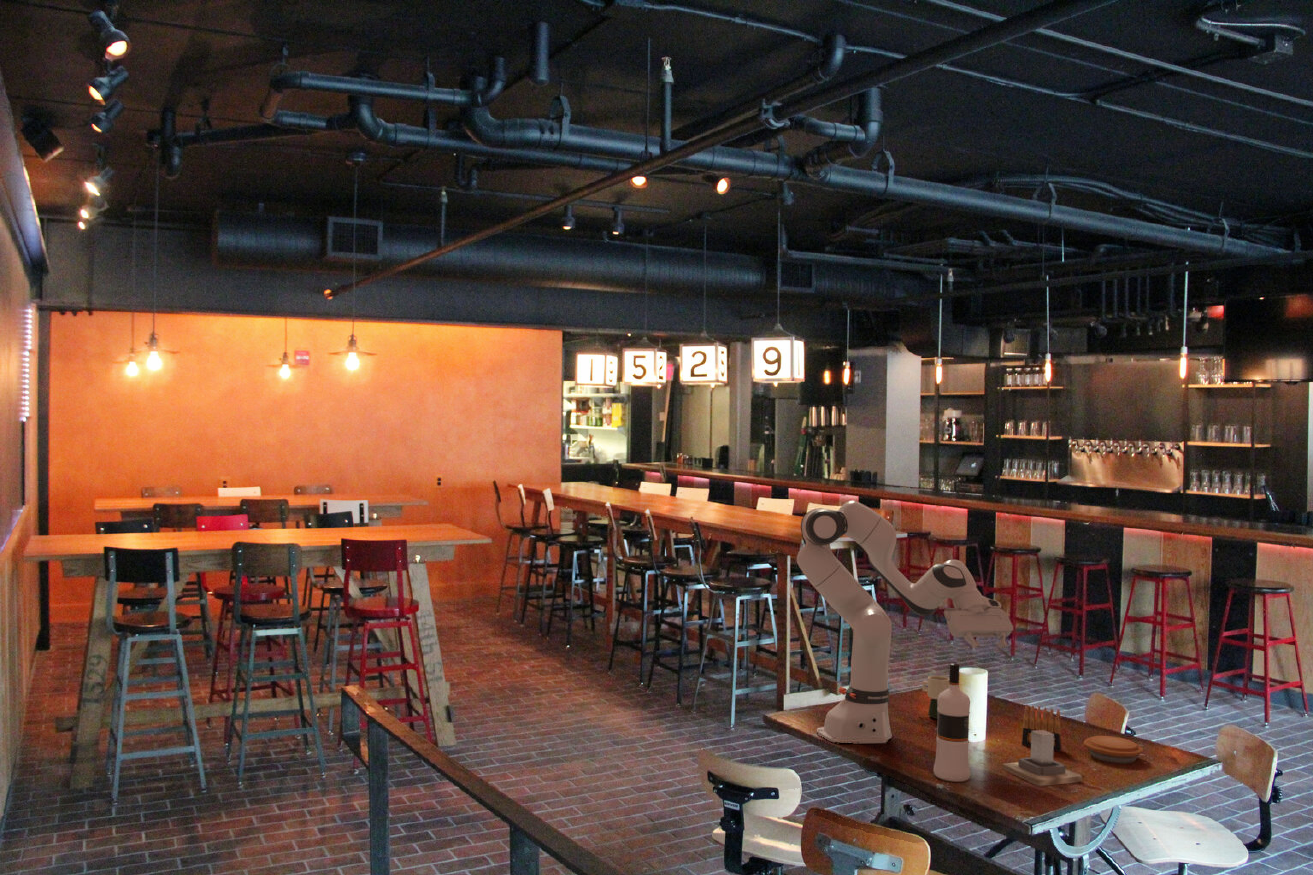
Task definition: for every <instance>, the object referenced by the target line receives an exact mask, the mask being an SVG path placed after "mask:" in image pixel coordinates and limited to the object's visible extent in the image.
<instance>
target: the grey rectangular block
mask: <svg viewBox="0 0 1313 875" xmlns="http://www.w3.org/2000/svg"><path fill="white" fill-rule="evenodd" d="M1054 739H1055V738H1054V734H1053V733H1050V732H1048V731H1045V730H1035V731H1031V747H1030V757H1031V759H1030V763H1033V764H1035V765H1037V766H1039V767H1046V766H1053V760H1054V751H1053V748H1054Z"/></svg>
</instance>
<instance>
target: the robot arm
mask: <svg viewBox="0 0 1313 875" xmlns="http://www.w3.org/2000/svg"><path fill="white" fill-rule="evenodd" d="M800 532H801V536H802V540H803V544H804V546H802V548H801V549H800V550H799V551H798V553H797V555H796V563H797V565H798V568H800V570H801V572H802V573H803V575H804V576H805V578H806V579H807V580H808V582H809V583H810V584H811V585H812V586H813V588H814V589H815V590H816V591H817V592H818V593H819V594H820V596H821V597H822V598H823V599H824V600H825V601H826V602H827V604H828V605H829V606H830V607H831V608H832V609H833V611H835V613H838V615H839V616H840V617H841V618H842V619H843V620H844V621H845V622H846V623H847V624H848V626H849V627H850V628H851V629H852V632H853V636H852V638H853V639H852V647H851V648H852V650H851V659H850V684H849V686H848V687H847V688H845V687H844V686H840V687H839V688H838V690H837V691H838V693H839V694H841V695H842V696H843V695H844V699H842V700H841V701H840V702H839V703H838V704H837V705H835V706H833V707H832V709H830V710H829V711H828V712H827V713H826V715H825V720H824V725H823V726H822V727H817V728H816V734H817V733H818V734H817V735H818V736H820V737H821V736H822V737H821V738H823V737H824V738H825V740H826V739H827V741H828V742H832V743H835V742H842V743H844V742H845V743H847V742H848V743H852V742H854V743H853V744H887V743H888V740H889V739H892V737H893V735H892V731H891V730H892V729H891V727H890V720H889V709H888V708H889V707H888V706H889V703H890V702H889V701H890V689H889V687H888V685H889V684H888V682H889V660H890V653H891V651H890V650H891V642H892V641H891V640H892V628H893V627H892V622H891V619H890V617H889V616H888V614H887V613H886V611H885V610H884V609H883V608H882V606H881V605H880V604H879V603H878V602H877V601H876V599H874V598H873V596H871V594H870V593H869V592H868V591H867V589H865V587H863V586H862V584H860V582H859V581H858V580H857V579H856V578H855V576H854V575H852V574H851V572H850V571H849V570H848V569H847V568H846V567H845V565H843V564H842V562H841V560H839V558H837V557H836V556H835V554H834V553H833V551H832V549H831V544H833V543H834V542H836V541H837V540H839V539H840V538H841V537H842V536H845V537H848V538H850V539H851V540H853V542H856V544H858V545H859V546H860V547H861V548H862V549H863V550H864V551H865V552H866V554H867V555H868V557H867V558H868V563H869V564H870V566H871V567H872V569H873V570H874V571H875V572H876V573H877V574H878V575H879V577H880V578H882V579H883V581H884V582H885V583H887V584H888V586H890V588H891V589H892V590H893V591H894V592H895V593H896V594H897V595H898V596H899V597H900V598H901V599H902V600H903V602H904V603H905V604H906V606H907V607H908V608H909V610H910V611H911V612H912V613H914V614H915V615H918V616H923V617H927V616H928V617H929V616H932V615H934V614H935V612H936V611H937V610H938V608H940V605H942V604H943V603H945V601H946V600H947V599H951V600H952V605H953V607H947V608H946V609H944V611H943V615H944V617H945V619H946V624H947V627H948V631H949V633H950V635H951V636H953V637H954V638H964V640H965V641H966V642H967V643H968V644H969V645H971V648H972V649H973V650H975V649H976V650H977V649H979V648H980V646H981V645H980V643H979V640H975V639H974V638H977V637H978V638H985V637H986V638H987V637H989V638H991V637H995V638H997V639H998V640H999V642H998V643H997V646H999V649H1006V648H1007V646H1008V644H1007V642H1006V638H1007V637H1008V636H1010V635H1011V633H1012V632H1013V631H1014V626H1013V623H1012V622H1011V619H1010V617H1009V616H1008V615H1007V613H1006V612H1005V610H1003V609H1002V604H1001V602H1000V601H998V600H995V599H992V598H988V597H986V596H984V595H982V593H981V592H980V591H979V589H978V587H977V583H976V581H975V579H974V577H973V575H972V573H971V572H970V571H969V568H968V567H967V566H966V564H964V563H963V562H962V561H961V560H958V559H949V560H946V561H944V562H943V563H936V564H934V565H933V566H931V567H930V568H929V569H928V570H927V571H926V572H925V573H924V574H923V575H922V576H921V577H920V578H919V579H918V581H916V582H915V583H914V582H911V581H909V579H908V578H907V577H906V576H904V574H903V573H902V572H901V571H900V570H899V569H898V568H897V567H896V566H895V565H894V562H893V557H892V556H893V553H894V550H895V548H896V543H897V531H896V529H895V527H894V525H893V524H892V523H891V522H890V521H889V520H887V519H886V518H884V517H883V516H882V515H881V514H879V513H878V512H877V511H875V510H873V509H872V508H871V507H868V506H867V505H866V504H863V503H861V502H859V501H857V500H849V501H847V502H845V503H844V504H842V505H841V506H840V508H839V509H838V510H834V509H828V508H827V509H826V508H822V507H821V508H820V507H819V508H813V509H811V510H809V511H807V512H806V513H805V514H804V515H803V516H802V518H801V522H800ZM824 738H823V739H824ZM857 742H859V743H857ZM886 742H887V743H886Z"/></svg>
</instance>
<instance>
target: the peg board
mask: <svg viewBox="0 0 1313 875" xmlns="http://www.w3.org/2000/svg"><path fill="white" fill-rule="evenodd" d="M1030 759H1031V756H1029V757H1021V758H1019V759H1018V761H1017V762H1008V763H1002V770H1004V771H1006V772H1008V773H1009V774H1011V775H1015V777H1019V779H1020V778H1021V779H1022V780H1025V781H1026V782H1028V783H1031V784H1034V786H1037V787H1046V786H1054V785H1061V784H1062V785H1063V784H1072V783H1073V784H1074V783H1082V779H1083V776H1082V775H1080V774H1078V773H1076V772H1074V771H1071V770H1069V769H1066V764H1063V763H1060V761H1059V762H1058V761H1056V760H1055V759H1053V766H1046V767H1039V766H1037V765H1035V764H1033V763H1030Z"/></svg>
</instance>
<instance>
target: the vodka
mask: <svg viewBox="0 0 1313 875" xmlns="http://www.w3.org/2000/svg"><path fill="white" fill-rule="evenodd" d="M960 666H961V665H960V664H959V663H955V662H951V663H949V668H948V669H949V671H948V672H949V676H948V678H949V688H948V689H946V690H944V691H943V692H941V693H940V694H939V696H938V698H937V704H938V708H937V710H938V719H937V729H936V737H935V738H936V740H935V741H936V751H935V760H934V765H933V774H934V775H935V777H936V778H938V779H939V780H942V781H946V782H951V783H961V782H962V783H963V782H965V781H968V780H969V779H970V778H971V777H970V776H971V769H970V762H969V761H970V760H969V745H970V744H969V743H970V740H969V739H970V738H969V733H970V731H969V730H970V726H969V725H970V714H971V712H970V708H971V700H970V698H969V696H968V695H967V694H966V693H965V692H964V691H963V690H961V689H960Z"/></svg>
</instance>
